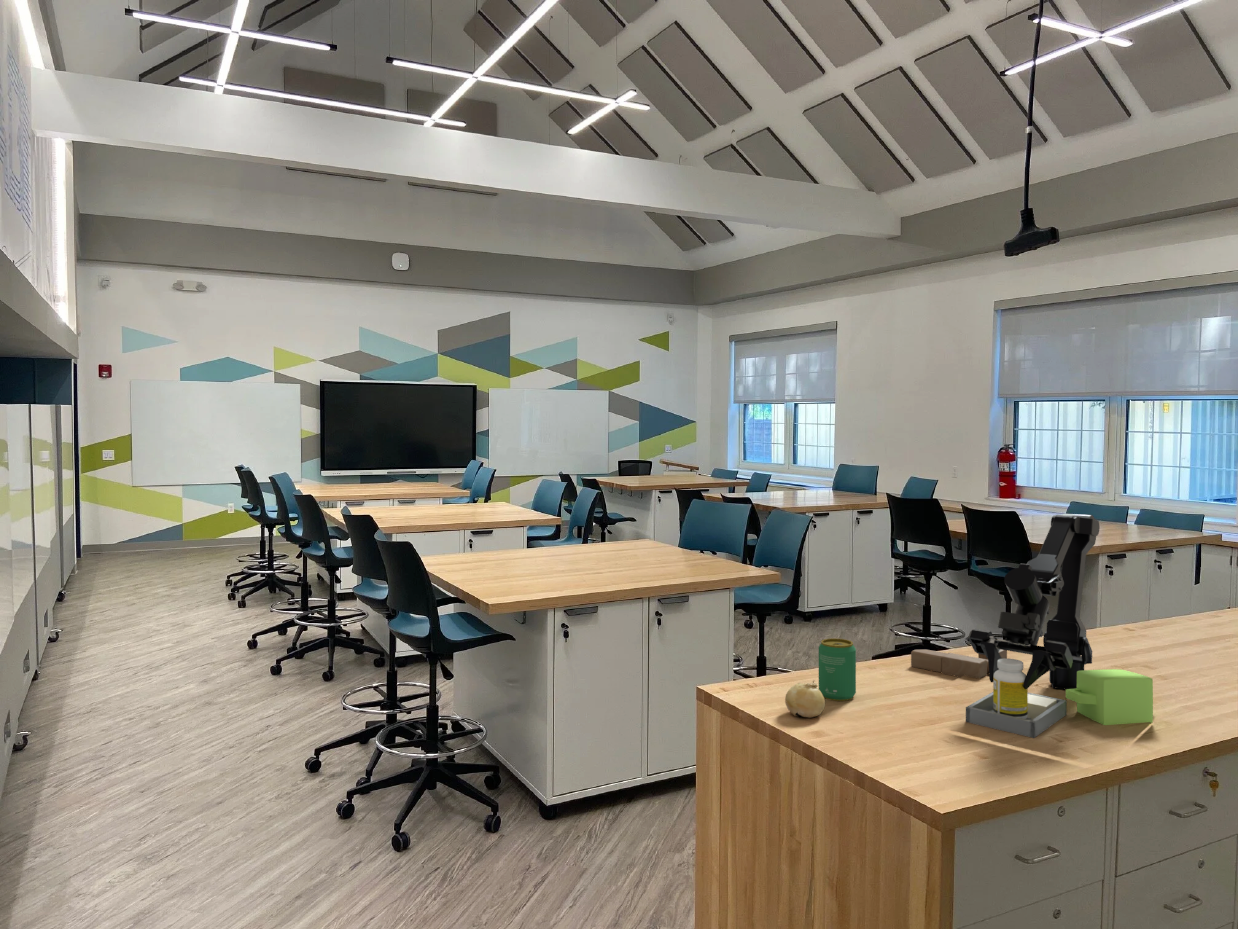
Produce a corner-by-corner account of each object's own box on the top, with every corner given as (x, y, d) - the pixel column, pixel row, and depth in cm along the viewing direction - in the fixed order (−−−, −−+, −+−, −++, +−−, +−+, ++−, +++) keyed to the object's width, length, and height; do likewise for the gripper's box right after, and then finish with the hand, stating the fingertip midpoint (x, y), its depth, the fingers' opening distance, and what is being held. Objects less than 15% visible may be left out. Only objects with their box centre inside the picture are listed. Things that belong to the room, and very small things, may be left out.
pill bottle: (1034, 719, 168) (1035, 663, 168) (1011, 723, 166) (1011, 667, 165) (1009, 709, 174) (1009, 655, 173) (986, 713, 171) (986, 659, 171)
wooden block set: (983, 660, 198) (909, 646, 211) (983, 684, 199) (909, 669, 211) (1011, 645, 210) (940, 634, 223) (1011, 668, 211) (940, 655, 223)
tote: (1001, 703, 183) (1001, 687, 183) (1066, 717, 174) (1066, 700, 174) (965, 724, 170) (965, 707, 170) (1034, 741, 161) (1034, 722, 161)
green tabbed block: (1136, 710, 180) (1136, 665, 180) (1173, 724, 170) (1173, 676, 170) (1057, 713, 177) (1057, 667, 177) (1090, 727, 167) (1090, 679, 167)
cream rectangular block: (1006, 703, 181) (1006, 689, 181) (1056, 714, 174) (1056, 699, 174) (994, 710, 177) (994, 696, 177) (1046, 721, 170) (1046, 706, 170)
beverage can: (862, 695, 190) (862, 641, 189) (844, 704, 184) (844, 648, 183) (830, 688, 195) (829, 636, 195) (811, 696, 189) (811, 642, 189)
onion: (802, 724, 172) (802, 689, 172) (777, 712, 179) (777, 679, 179) (832, 717, 176) (832, 683, 176) (807, 706, 183) (807, 673, 183)
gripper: (971, 590, 178) (948, 653, 171) (1068, 602, 165) (1047, 671, 158) (986, 620, 184) (965, 683, 177) (1081, 635, 171) (1062, 703, 164)
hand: (1007, 684), depth 169 cm, fingers closed on pill bottle, 6 cm apart
